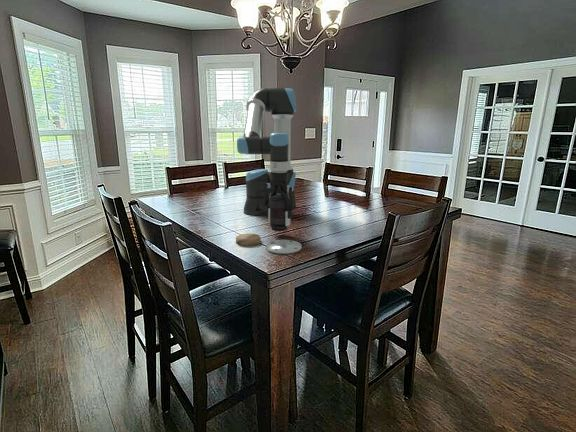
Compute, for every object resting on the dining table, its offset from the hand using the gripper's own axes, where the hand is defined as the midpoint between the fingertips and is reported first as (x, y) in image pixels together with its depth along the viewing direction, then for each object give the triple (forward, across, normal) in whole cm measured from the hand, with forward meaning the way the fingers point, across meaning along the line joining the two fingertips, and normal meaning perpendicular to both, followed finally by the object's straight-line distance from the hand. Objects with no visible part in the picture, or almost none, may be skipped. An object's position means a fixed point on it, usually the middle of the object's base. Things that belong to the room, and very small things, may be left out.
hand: (279, 223), depth 147 cm
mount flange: (+5, +10, -13) cm, 17 cm away
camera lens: (+3, 0, 0) cm, 3 cm away
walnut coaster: (+5, -6, -15) cm, 17 cm away
